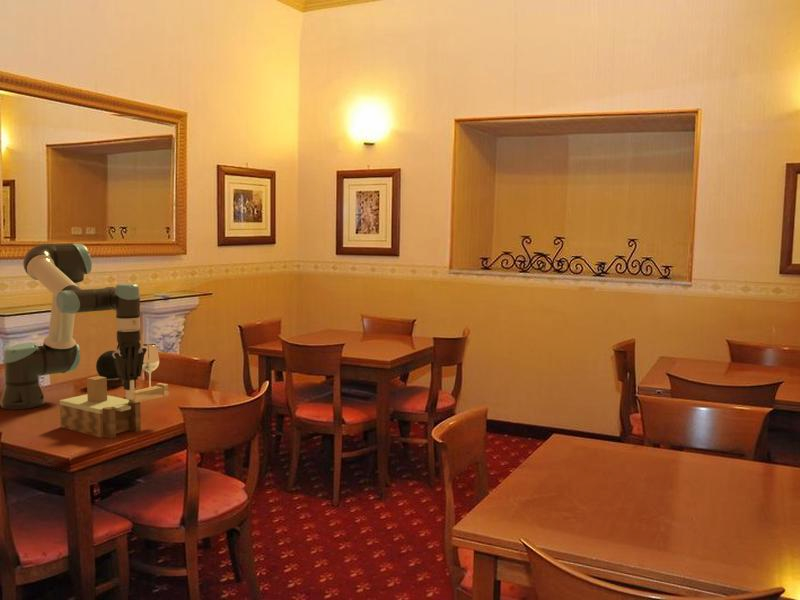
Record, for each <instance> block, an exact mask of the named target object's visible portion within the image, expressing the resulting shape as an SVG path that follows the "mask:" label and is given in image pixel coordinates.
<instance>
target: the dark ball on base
mask: <svg viewBox="0 0 800 600" xmlns="http://www.w3.org/2000/svg"><path fill="white" fill-rule="evenodd" d="M115 351H116V350H108V351H107V350H106V351H105V352H103V353H102V354H101V355H100V356H99V357H98V358H97V360H96V365H95V369H96V372H97V374H98V376H101V377H106V378H107V389H110V388H111V387H115V388H120V386H122V387H124V380H122V379H119V378H118V375H117V371H116V367H115V363H114V359H113V357H112V356H111V353H112V352H115ZM120 355H121V354H120ZM120 357H121V356H120ZM121 360H122V359H121Z"/></svg>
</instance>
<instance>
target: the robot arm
mask: <svg viewBox="0 0 800 600" xmlns="http://www.w3.org/2000/svg"><path fill="white" fill-rule="evenodd" d="M90 254H91V253H90V251H89V249H88V248H87V246H85V244H83V243H73V242H71V243H42V244H41V243H40V244H38V245H35V246H34V247H31V248H30V249H29V250H28V251H27V252H26V254H25V255H24V257H23V263H22V266H23V269H24V271H25V273H26V274H27V275H28V276H29V277H30V278H31V279H33V280H35V281H39V282H40V283H41V285H42V286H44V288H46V290H48V291H49V292H50V293H51V294H52V301H51V310H50V318H49V319H50V320H49V327H48V335H47V336H45V338H44V339H43V343H42V344H43V345H39V344H37V343H36V342H24V343H19V344H18V343H17V344H14V345H12V346H8V347H6V348H5V350H4V352H3V360H2V361H3V366H4V367H3V368H4V390H3V392H2V395H1V398H0V407H1V408H2V409H3V410H17V411H18V410H26V409H33V408H38V407H41V406H43V405H45V402H46V401H45V399H46V398H45V395H44V393H43V390H42V388H41V386H40V376H42V377H43V376H49V375H57V374H66V373H70V372H73V371H75V370H76V369H77V368H78V366H79V365H80V362H81V356H82V355H81V353H80V352H81V349H80V345H79V344H78V343H77V341H76V339H74V338H73V336H74V335H73V334H74V329H75V320H76V319H75V317H76V313H77V314H78V313H79V314H80V313H89V312H101V311H103V312H104V311H115V313H116V315H115V318H116V319H115V320H116V322H115V325H116V330H117V331H116V341H117V346H116V350H114V351H115V352H112V353H111V356H112V357H113V359H114V363H115V367H116V371H117V375H118V378H119V379H122V380H124V386H123V389H124V390H125V399H128V400H129V399H130V400H132V399H135V389H136V388H137V380H139V378H140V377H141V376H142V371H143V369H142V366H143V360H144V355H145V353H146V351H147V349H146V348H143V347H142V345H141V343H140V341H141V339H142V337H141V330H140V329H141V308H140V307H141V302H140V301H141V298H140V297H141V294H140V288H139V285H138V284H136V283H118V284H116V286H106V287H103V288H91V289H90V288H87V289H86V288H85V289H82V288H81V287H79V285H80V283H82V282H84V278H85V275H88V274H90V273H91V271H92V268H93V267H92V257H91V255H90ZM120 354H121V355H120ZM120 356H121V357H120ZM121 359H122V360H121Z"/></svg>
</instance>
